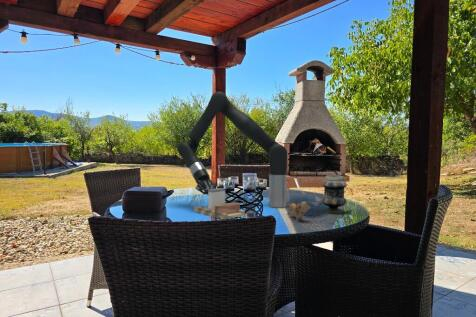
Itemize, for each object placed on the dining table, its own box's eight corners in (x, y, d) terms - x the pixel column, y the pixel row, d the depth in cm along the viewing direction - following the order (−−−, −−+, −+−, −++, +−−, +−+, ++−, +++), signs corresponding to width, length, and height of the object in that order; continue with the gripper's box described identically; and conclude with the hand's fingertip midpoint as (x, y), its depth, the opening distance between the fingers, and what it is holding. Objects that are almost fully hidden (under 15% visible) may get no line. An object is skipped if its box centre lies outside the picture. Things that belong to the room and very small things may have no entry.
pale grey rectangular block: (208, 210, 163) (208, 189, 163) (221, 207, 169) (221, 188, 168) (212, 211, 161) (212, 190, 160) (225, 208, 166) (225, 188, 166)
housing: (193, 211, 169) (193, 200, 168) (212, 208, 177) (212, 197, 176) (225, 220, 151) (225, 207, 151) (244, 216, 159) (244, 204, 159)
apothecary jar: (350, 214, 165) (351, 177, 164) (327, 215, 162) (328, 177, 161) (338, 208, 177) (339, 174, 175) (317, 209, 174) (317, 174, 173)
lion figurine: (311, 222, 149) (311, 201, 148) (301, 223, 146) (301, 202, 146) (291, 215, 162) (291, 196, 161) (282, 216, 159) (282, 197, 159)
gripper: (191, 168, 168) (206, 196, 159) (212, 167, 177) (227, 193, 168) (185, 178, 172) (200, 206, 164) (206, 176, 181) (221, 202, 173)
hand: (214, 199), depth 166 cm, fingers closed
